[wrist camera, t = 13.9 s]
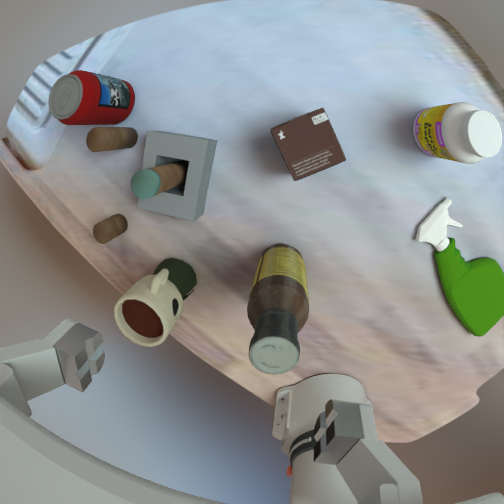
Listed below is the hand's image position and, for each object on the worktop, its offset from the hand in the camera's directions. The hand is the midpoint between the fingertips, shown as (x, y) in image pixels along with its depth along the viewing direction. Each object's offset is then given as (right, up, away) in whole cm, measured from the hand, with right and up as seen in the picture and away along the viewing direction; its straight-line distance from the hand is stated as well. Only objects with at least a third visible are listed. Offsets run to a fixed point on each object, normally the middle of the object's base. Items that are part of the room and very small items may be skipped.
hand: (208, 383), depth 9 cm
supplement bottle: (+25, +20, +22) cm, 39 cm away
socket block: (-8, +15, +29) cm, 34 cm away
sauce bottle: (+6, +3, +32) cm, 32 cm away
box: (+8, +18, +26) cm, 32 cm away
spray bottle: (+34, +1, +28) cm, 45 cm away
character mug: (-10, +1, +35) cm, 36 cm away
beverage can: (-18, +26, +27) cm, 41 cm away
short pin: (-19, +9, +33) cm, 39 cm away
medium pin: (-16, +20, +28) cm, 38 cm away
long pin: (-8, +15, +29) cm, 34 cm away
